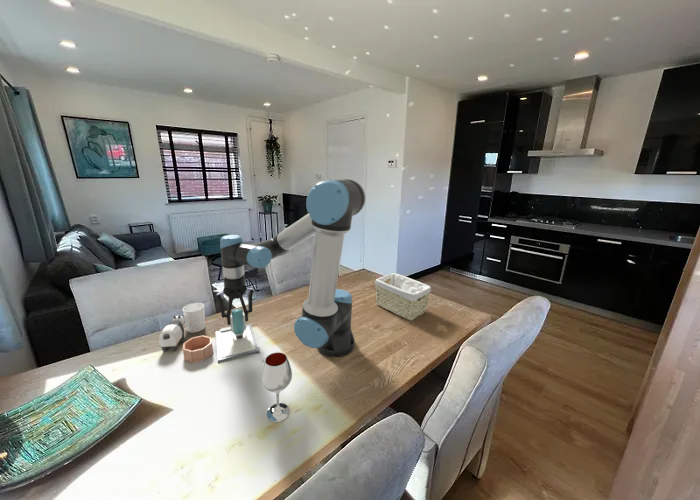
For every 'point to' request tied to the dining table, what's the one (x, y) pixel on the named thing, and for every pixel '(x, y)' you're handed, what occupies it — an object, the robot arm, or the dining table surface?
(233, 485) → the dining table surface
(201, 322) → the white cup
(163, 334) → the giant panda
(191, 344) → the terracotta octagonal bowl
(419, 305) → the storage basket
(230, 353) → the clipboard
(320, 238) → the robot arm
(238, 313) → the teal cylinder
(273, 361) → the wineglass
